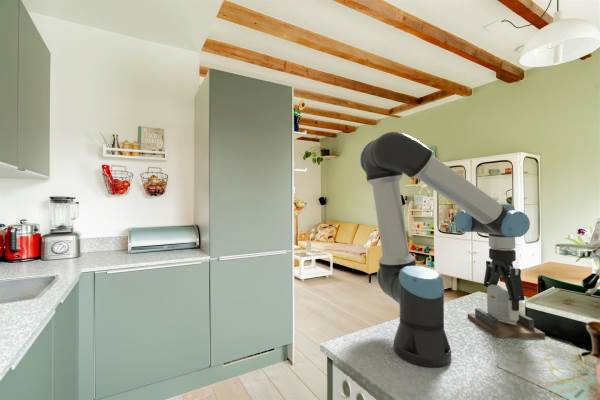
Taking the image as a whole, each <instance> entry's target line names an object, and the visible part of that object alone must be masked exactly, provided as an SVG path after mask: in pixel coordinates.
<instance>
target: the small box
mask: <svg viewBox="0 0 600 400" xmlns="http://www.w3.org/2000/svg"><path fill="white" fill-rule="evenodd" d="M486 294H487V295H486V302H487V303H486V304H487V313H488V314H489V315H491V316H493V317H494V318H496V319H498V320H501V321H506V322H510V323H514V324H515V323H516V322H517V321H518V320H509V319H508V299H510V296H509V293H508V290H507V287H506V286H503V285H498V284H497V285H493V284H492V285H490V286H489V287H486ZM519 311H520V310H519ZM519 311H518V319H519V313H520V312H519Z"/></svg>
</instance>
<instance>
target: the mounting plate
mask: <svg viewBox="0 0 600 400" xmlns="http://www.w3.org/2000/svg"><path fill="white" fill-rule="evenodd" d="M474 312H475V313H467V318H468V319H469V320H471V321H472V322H473V323H474V324H476V325H478V326H479V327H481V328H482V329H484V330H485V331H487V332H488V333H489V334H491V335H492V336H493V337H495V338H496V339H518V338H519V339H545V338H546V335H545V334H546V333H545V332H543V331H541V330H540V329H538V328H536V327H535V325H534V324H535V323H534V322H535V320H534V319H533V318H531V317H529V316H527V315H525V314H524V313H521V312H519V319H518V321H517V322H516V323H515V324H514V323H510V322H506V321H501V320H498V319H496V318H494V317H493V316H491V315H489V314H488V312H486V311H484V310H483V309H481V308H475V309H474Z"/></svg>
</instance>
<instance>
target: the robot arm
mask: <svg viewBox="0 0 600 400" xmlns="http://www.w3.org/2000/svg"><path fill="white" fill-rule="evenodd" d="M359 163H360V166H361V169H362V171H364V173H365V174H366V181H367V183H369V184H370V185H371V186H372V191H373V198H374V199H373V200H374V206H375V212H376V218H377V227H378V231H379V232H378V234H379V241H380V247H381V253H382V255H381V257H380V258H379V260H378V265H379V268H378V269H377V272H376V281H377V283H378V284H377V285H379V287H380V289H381V290H382V292H383V293H384V294H386V295H387V296H388V297H390V298H391V299H392V300H394V301H395V302H396V303H398V305H399V324H398V327H397V329H396V333H395V335H394V338H393V351H394V353H395V354H396V355H397V356H398V357H399V358H400V359H402V360H404V361H406V362H409V363H410V364H412V365H416V366H420V367H426V368H441V367H444V366H447V365H449V364H450V363H451V362H452V349H451V345H450V342H449V339H448V337H447V334H446V332H445V324H444V323H445V318H444V317H445V313H444V312H445V310H444V309H445V308H444V304H445V302H444V301H445V300H444V299H445V298H444V297H445V295H444V294H445V286H444V279H443V277H442V275H441V274H440V273H439V272H438V271H436V270H434V269H432V268H429V267H424V266H419V265H417V263H416V257H414V256H413V255H412V254H411V253H410V251H409V250H410V248H409V244H408V243H409V241H408V236H407V229H406V228H407V227H406V221H405V216H404V215H405V214H404V207H403V202H402V201H403V200H402V193H401V187H400V186H401V185H400V181H401V179H402V178H403V176H404V175H405V176H407V177H409V178H410V179H411V178H416V179H418V180H419V181H420V182H422V183H423V184H425V185H426V186H428V187H429V188H430V189H432V190H433V191H435V192H436V193H438V194H439V195H441V196H442V197H443V198H445V199H446V200H448V202H449V201H450V202H451V203H452V204H454V205H455V206H456V207H457V208H459V210H457V212H456V213H455V215H454V225H455V228H456V230H458V231H459V232H464V233H480V234H488V247H489V249H488V258H489V259H490V260H486V261H485V273H484V280H483V286H484V287H486V288H487V287H489V286H490V285H492V284H493V285H498V283H499V281H500V279H502V280H503V281H504V284H505V287H507V290H508V293H509V296H510V299H508V319H509V320H518V311H520V302H521V301H525V300H526V297H525V293H524V289H523V283H522V276H521V275H522V274H521V273H522V270H521V269H520V268H517V267H516V268H515V267H514V265H513V262H515V261H516V260H517V255H516V253H517V252H516V250H515V249H516V238H520V237H523V236H524V235H526V234H527V232H529V230H530V225H531V222H530V218H529V217H528V215H527V214H526V213H524V212H523V211H519V210H516V209H515V205H514V204H510V203H500V202H498V201H497V200H496V199H494V198H492V197H491V196H490V195H488V194H487V193H485V192H484V191H483V190H481V189H480V188H479V187H477V186H476V185H474V184H473V183H472V182H470V181H469V180H467V179H466V178H465V177H464V176H462V175H460V173H458V172H457V171H455V170H454V169H452V168H451V167H449V166H448V165H446V164H445V163H443V162H442V161H441V160H439V159H438V158H437V157H436V156H434V151H433V150H432V149H431V148H429V146H426V145H425V144H423V143H422V142H420V141H419V140H417V139H416V138H414V137H412V136H410V135H409V134H406V133H403V132H399V131H389V132H386V133H383V134H381V135H380V136H378V137H377V138H376V139H374V140H372V141H370V142H368V143H367V144H366V145H365V146H364V148H363V149H362V151H361V153H360V156H359ZM403 174H404V175H403Z"/></svg>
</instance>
